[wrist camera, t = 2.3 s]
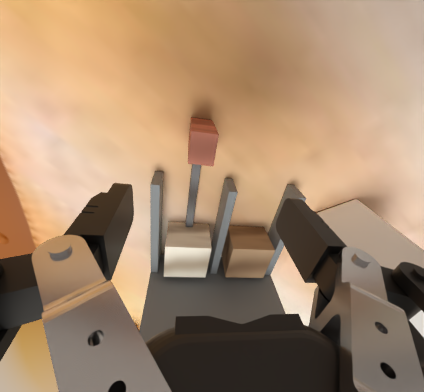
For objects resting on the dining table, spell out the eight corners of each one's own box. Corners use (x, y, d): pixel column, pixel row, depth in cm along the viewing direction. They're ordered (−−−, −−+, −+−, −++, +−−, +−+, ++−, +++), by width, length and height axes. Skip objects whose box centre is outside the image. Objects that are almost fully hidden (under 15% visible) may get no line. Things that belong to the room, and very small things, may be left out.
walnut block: (227, 224, 31) (233, 248, 27) (263, 226, 32) (275, 250, 28) (221, 251, 34) (225, 277, 30) (254, 253, 35) (263, 277, 31)
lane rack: (155, 171, 25) (124, 259, 13) (294, 185, 28) (369, 267, 16) (154, 258, 33) (134, 361, 22) (262, 261, 36) (296, 354, 25)
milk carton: (310, 214, 31) (435, 364, 15) (356, 197, 30) (540, 339, 14) (314, 243, 35) (419, 389, 19) (355, 229, 34) (502, 370, 18)
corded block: (174, 114, 22) (169, 128, 17) (227, 122, 23) (238, 137, 18) (167, 250, 33) (162, 283, 28) (203, 251, 34) (205, 283, 29)
